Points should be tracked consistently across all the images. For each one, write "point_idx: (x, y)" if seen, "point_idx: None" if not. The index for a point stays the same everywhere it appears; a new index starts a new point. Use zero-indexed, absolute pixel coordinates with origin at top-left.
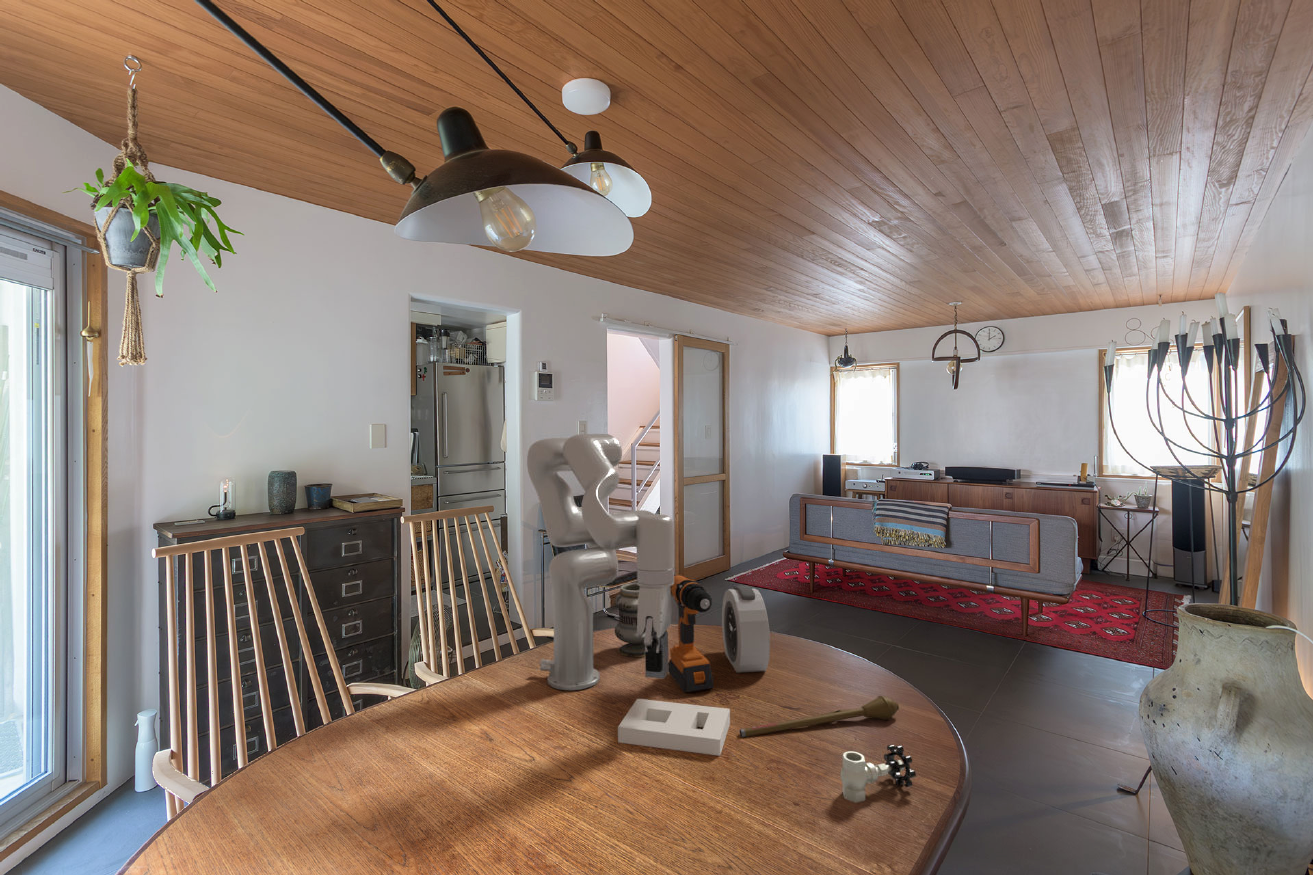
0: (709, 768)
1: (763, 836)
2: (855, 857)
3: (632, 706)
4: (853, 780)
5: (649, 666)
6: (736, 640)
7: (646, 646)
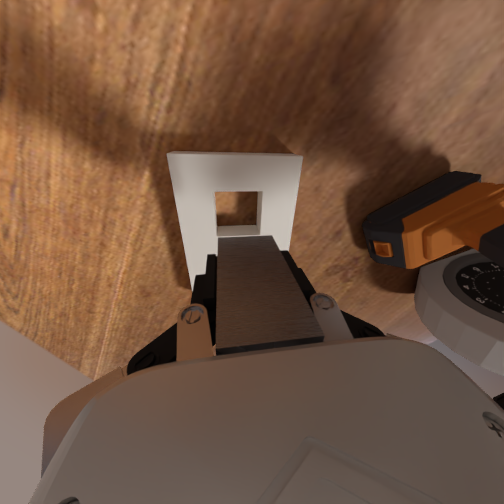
0: (165, 288)
1: (81, 342)
2: None
3: (264, 156)
4: None
5: (196, 277)
6: (484, 287)
7: (136, 355)
